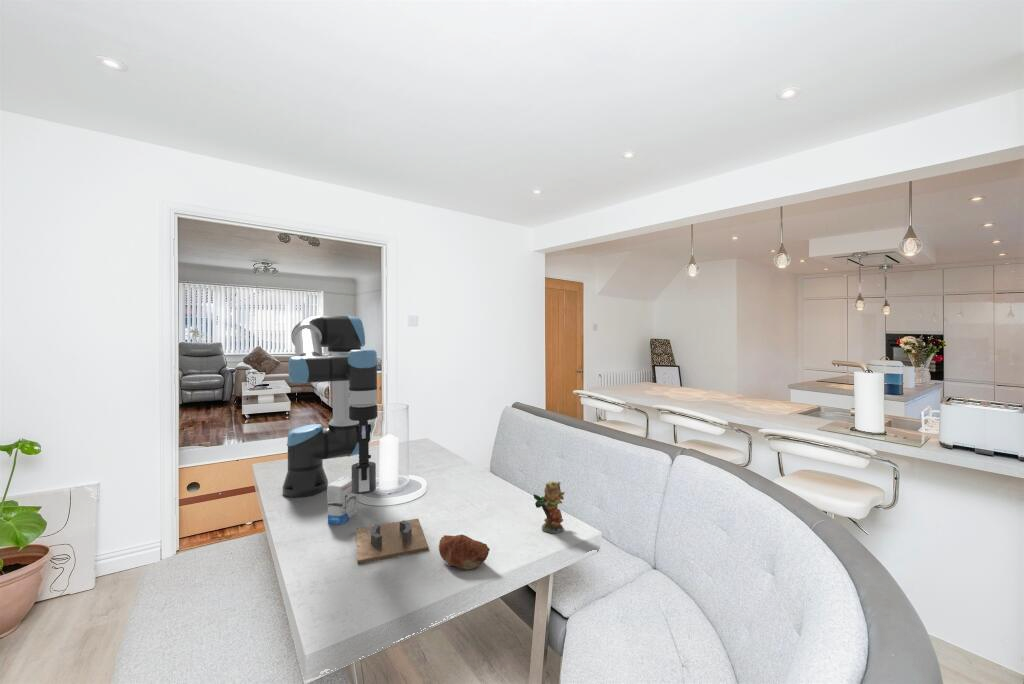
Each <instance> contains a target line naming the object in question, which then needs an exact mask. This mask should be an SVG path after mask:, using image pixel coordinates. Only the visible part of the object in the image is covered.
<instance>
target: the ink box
mask: <svg viewBox="0 0 1024 684" xmlns="http://www.w3.org/2000/svg"><path fill="white" fill-rule="evenodd" d="M326 490H327V491H326V493H327V497H326V498H327V523H328V524H332V525H333V524H334V525H335V524H336V525H342V524H344V523H345V522H346V521H348V520H349V519H350V518H352V517H353V516H354V515H356V514H357V494H354V493H352V476H351V477H349V476H342V477H340V478H338V479H336V480H334V481H333V482H331V483H328V486H327V488H326Z"/></svg>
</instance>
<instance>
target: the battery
mask: <svg viewBox="0 0 1024 684" xmlns="http://www.w3.org/2000/svg"><path fill="white" fill-rule="evenodd" d="M357 466H359V462H356V463H353V464H352V465H351V467H350V468H351V478H352V493H354V494H356V495H366V494H371V493H374V492H375V491H376V489H377V476H376V475H377V467H376V466H377V464H376V463H375V462H374V461H369V491H364V492H359V469H356V467H357Z"/></svg>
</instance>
